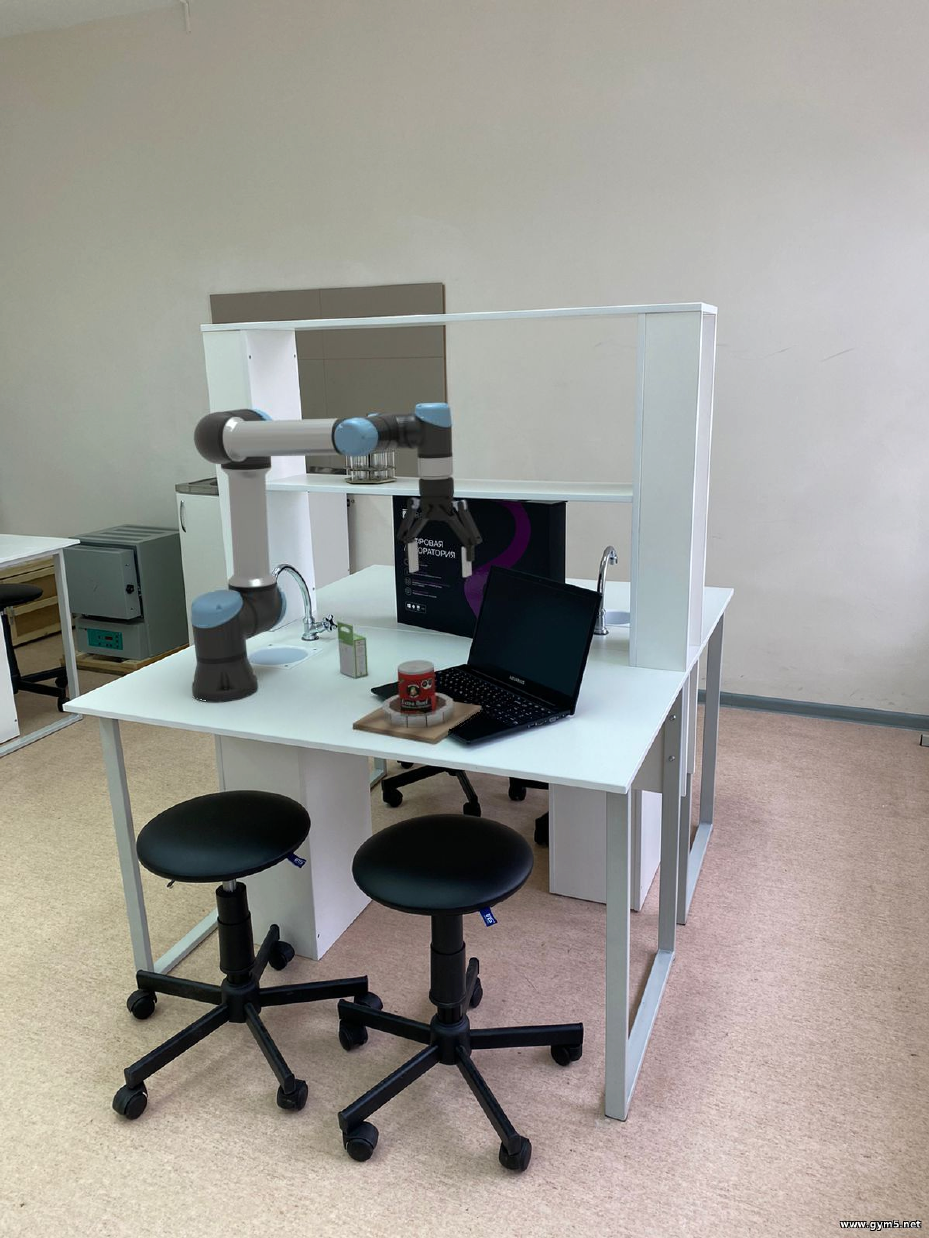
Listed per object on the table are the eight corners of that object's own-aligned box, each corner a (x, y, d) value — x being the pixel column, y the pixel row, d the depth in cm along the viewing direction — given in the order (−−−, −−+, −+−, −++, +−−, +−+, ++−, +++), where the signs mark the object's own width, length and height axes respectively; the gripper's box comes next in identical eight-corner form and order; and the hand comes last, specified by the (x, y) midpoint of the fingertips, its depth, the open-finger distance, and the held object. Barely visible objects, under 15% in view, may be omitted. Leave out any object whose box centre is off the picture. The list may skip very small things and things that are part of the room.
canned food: (396, 721, 199) (393, 671, 196) (404, 707, 207) (401, 659, 204) (432, 721, 198) (430, 671, 195) (438, 708, 206) (436, 660, 203)
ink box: (369, 675, 233) (365, 622, 229) (355, 679, 230) (351, 626, 227) (353, 669, 238) (349, 617, 234) (340, 672, 236) (336, 620, 232)
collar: (369, 721, 200) (368, 710, 199) (407, 698, 212) (406, 688, 212) (430, 732, 192) (429, 720, 192) (465, 708, 205) (465, 697, 204)
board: (352, 728, 199) (352, 723, 199) (404, 698, 216) (403, 693, 215) (434, 744, 190) (434, 738, 189) (481, 711, 206) (481, 706, 206)
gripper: (495, 476, 200) (498, 574, 206) (396, 473, 212) (401, 566, 218) (479, 480, 194) (482, 581, 199) (377, 477, 206) (383, 572, 211)
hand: (440, 573), depth 209 cm, fingers open, 13 cm apart
